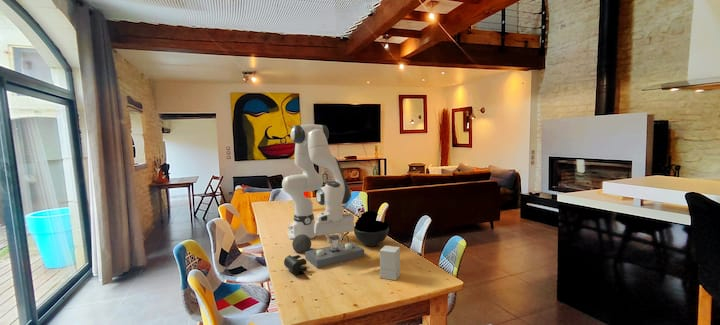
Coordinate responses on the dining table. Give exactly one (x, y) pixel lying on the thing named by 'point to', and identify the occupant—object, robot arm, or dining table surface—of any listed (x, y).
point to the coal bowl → (370, 229)
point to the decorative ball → (301, 243)
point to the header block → (334, 255)
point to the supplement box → (390, 262)
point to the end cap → (295, 264)
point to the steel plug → (334, 243)
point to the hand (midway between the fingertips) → (334, 241)
